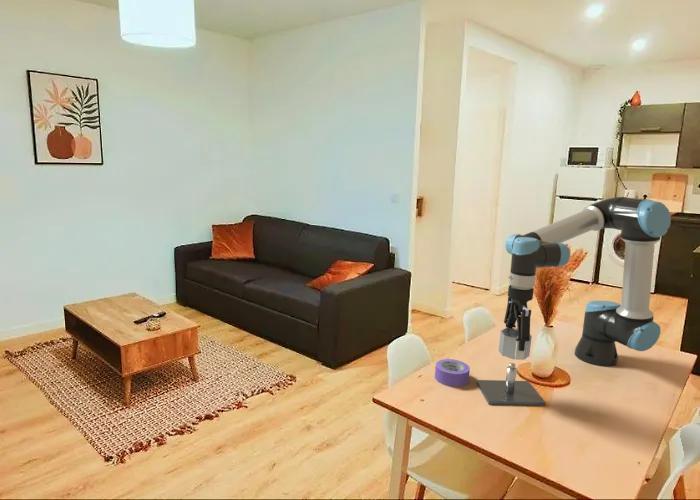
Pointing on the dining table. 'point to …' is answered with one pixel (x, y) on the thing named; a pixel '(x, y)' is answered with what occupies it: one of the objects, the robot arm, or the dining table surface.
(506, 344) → the ring
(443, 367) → the tape roll
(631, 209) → the robot arm
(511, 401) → the shaft stand
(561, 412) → the dining table surface
